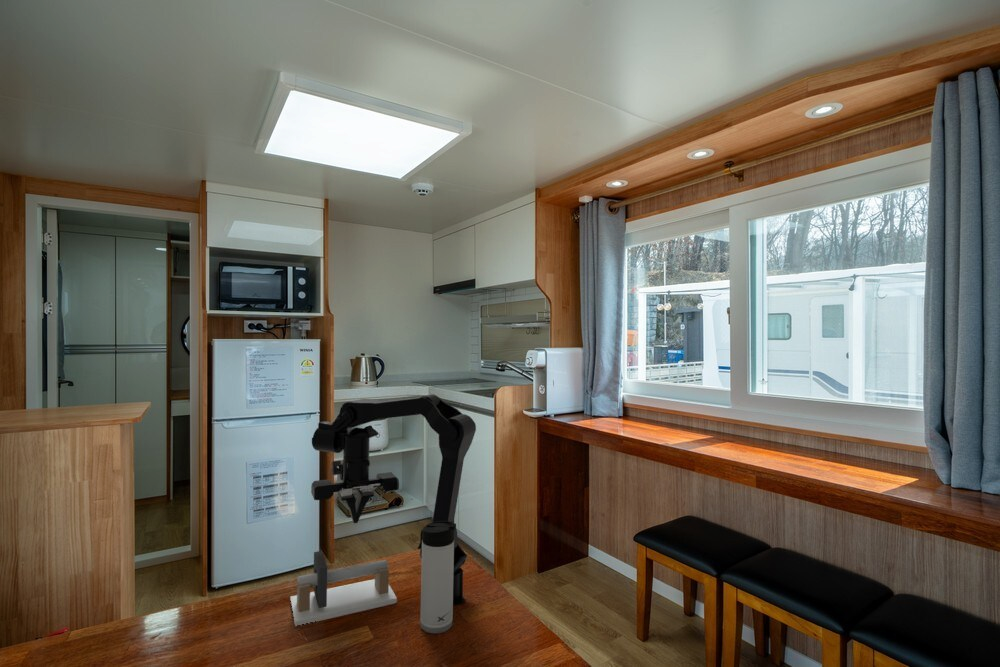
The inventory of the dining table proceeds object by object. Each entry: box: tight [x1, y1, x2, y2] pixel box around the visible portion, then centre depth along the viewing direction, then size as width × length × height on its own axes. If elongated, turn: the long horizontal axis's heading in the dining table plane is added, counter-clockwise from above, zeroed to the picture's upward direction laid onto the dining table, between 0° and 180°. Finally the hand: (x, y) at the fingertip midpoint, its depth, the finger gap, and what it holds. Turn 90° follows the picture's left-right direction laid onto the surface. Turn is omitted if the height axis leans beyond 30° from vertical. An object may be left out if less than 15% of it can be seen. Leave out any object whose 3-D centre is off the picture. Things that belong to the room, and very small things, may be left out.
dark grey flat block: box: [312, 550, 328, 608], centre depth 106 cm, size 2×8×8 cm, turn 27°
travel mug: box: [419, 521, 457, 634], centre depth 101 cm, size 6×7×20 cm
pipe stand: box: [289, 559, 398, 627], centre depth 108 cm, size 20×10×7 cm, turn 117°
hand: (355, 522), depth 118 cm, fingers closed
